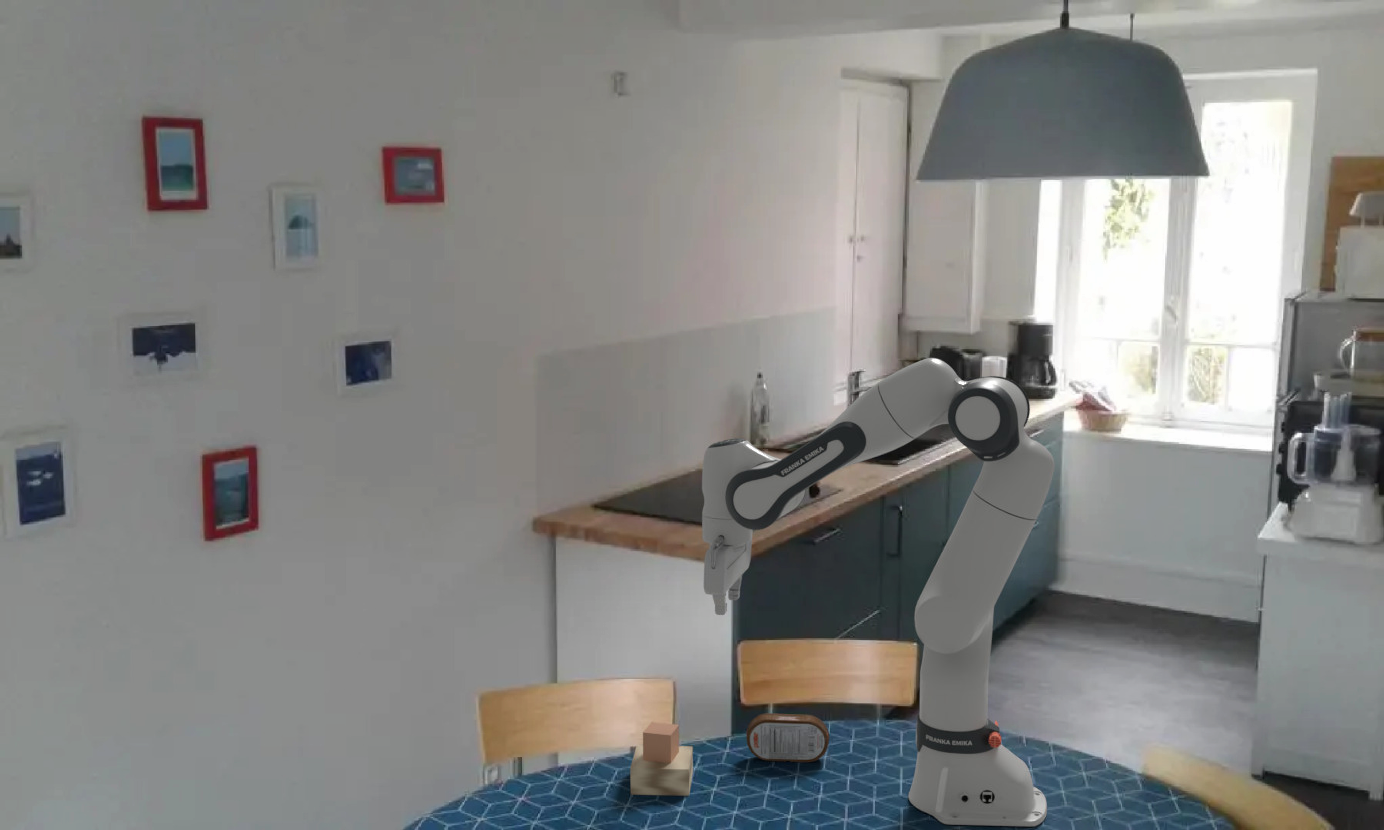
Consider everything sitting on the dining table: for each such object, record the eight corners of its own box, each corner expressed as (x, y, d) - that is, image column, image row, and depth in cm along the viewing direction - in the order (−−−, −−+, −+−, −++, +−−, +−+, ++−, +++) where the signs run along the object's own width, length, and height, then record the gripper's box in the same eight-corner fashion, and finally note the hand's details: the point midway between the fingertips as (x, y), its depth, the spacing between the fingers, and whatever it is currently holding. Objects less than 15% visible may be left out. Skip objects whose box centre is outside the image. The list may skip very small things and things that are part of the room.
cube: (679, 752, 222) (678, 724, 222) (670, 763, 218) (670, 735, 217) (651, 749, 224) (651, 722, 223) (643, 760, 219) (642, 732, 218)
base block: (692, 773, 225) (692, 746, 225) (689, 797, 216) (688, 769, 215) (637, 772, 226) (636, 745, 225) (630, 796, 216) (630, 768, 216)
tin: (829, 757, 231) (829, 713, 230) (829, 764, 228) (829, 720, 227) (746, 755, 232) (746, 711, 231) (745, 762, 229) (745, 717, 228)
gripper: (730, 544, 212) (730, 624, 214) (757, 519, 232) (757, 592, 234) (694, 542, 214) (694, 621, 216) (723, 517, 234) (724, 590, 235)
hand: (727, 606), depth 225 cm, fingers open, 8 cm apart
